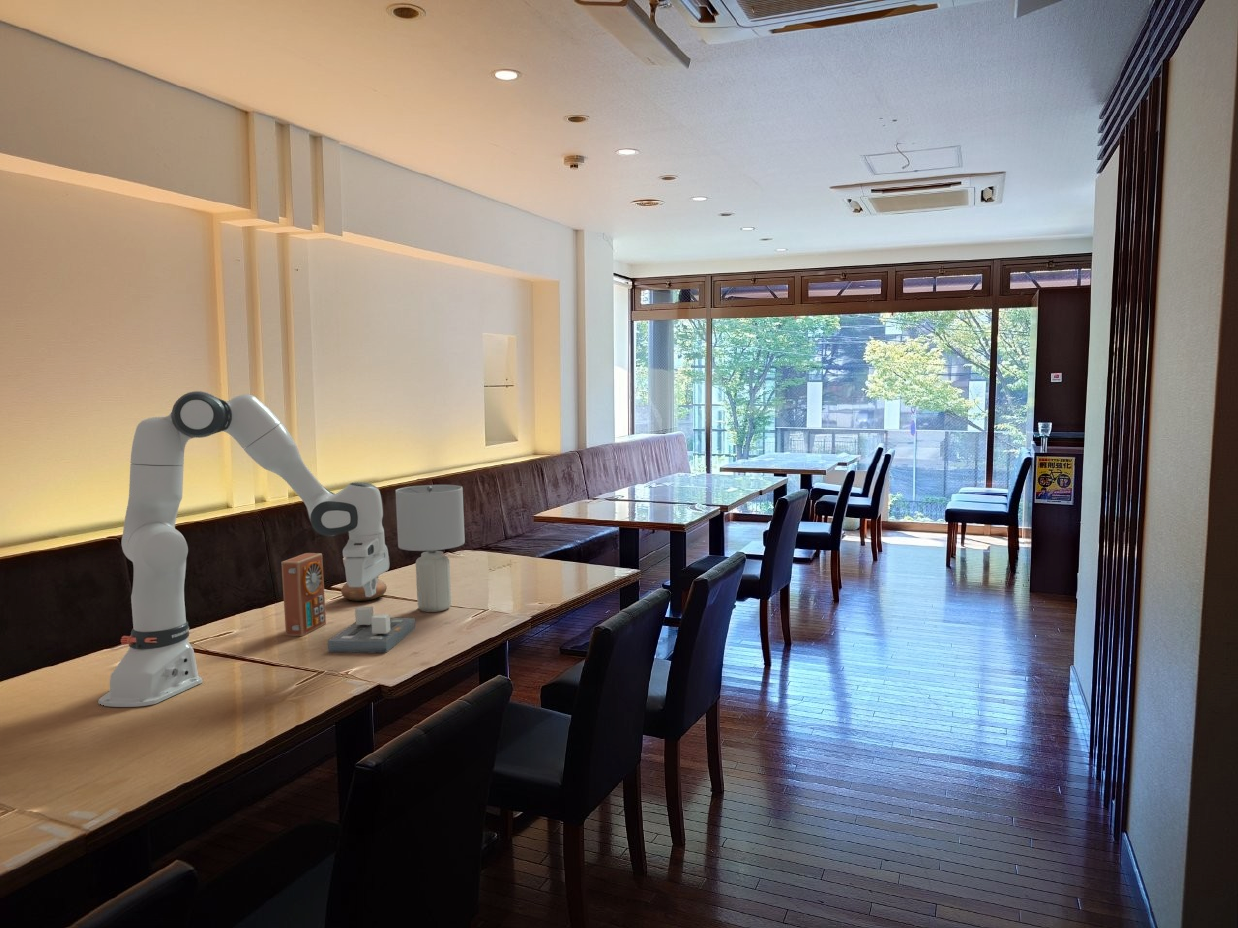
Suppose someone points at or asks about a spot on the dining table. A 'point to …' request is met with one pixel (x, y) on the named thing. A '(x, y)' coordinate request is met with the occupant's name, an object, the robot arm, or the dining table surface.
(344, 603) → the dining table surface
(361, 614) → the block
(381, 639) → the breaker box
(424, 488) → the lamp
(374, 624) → the block
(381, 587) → the ceramic jug
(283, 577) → the control panel
